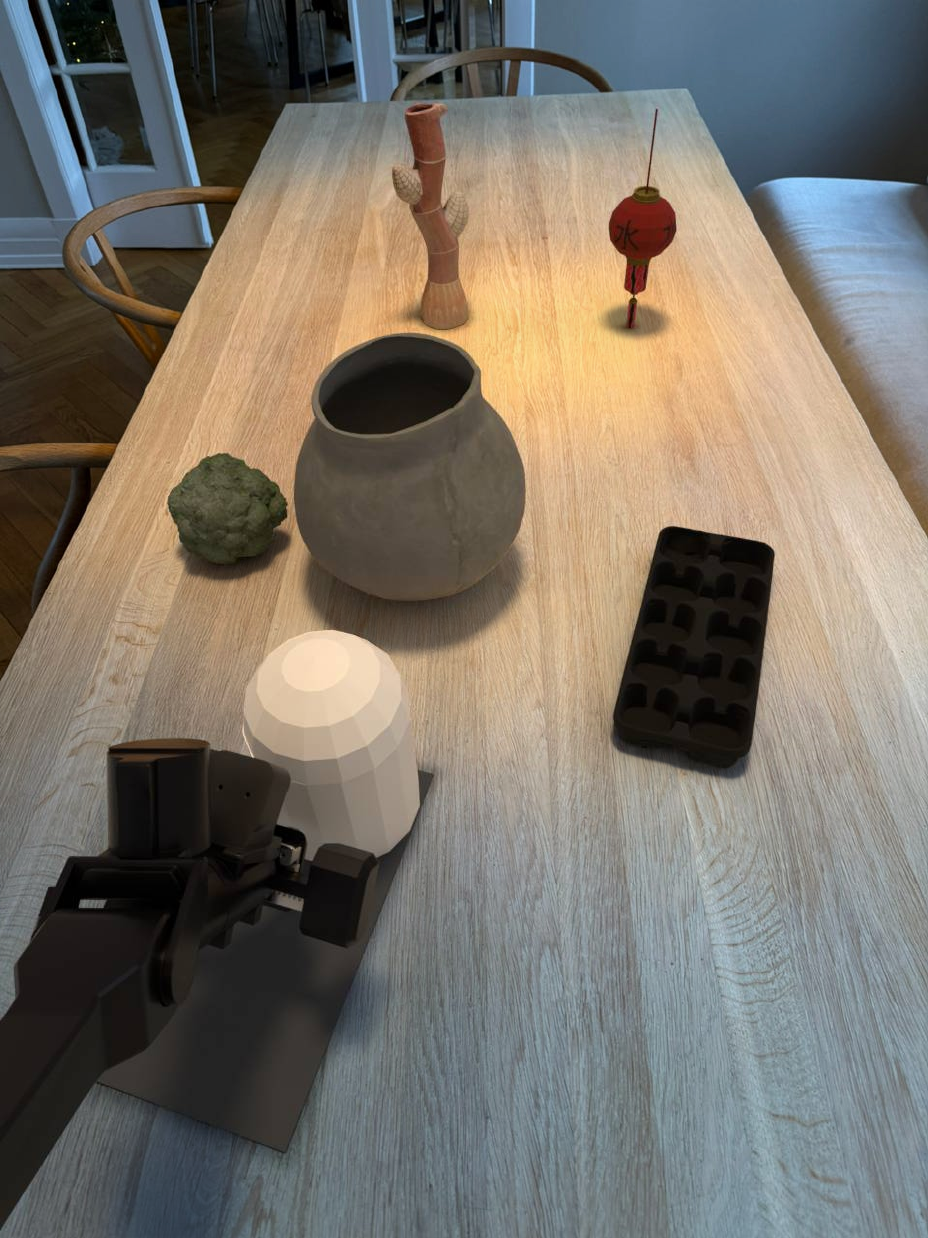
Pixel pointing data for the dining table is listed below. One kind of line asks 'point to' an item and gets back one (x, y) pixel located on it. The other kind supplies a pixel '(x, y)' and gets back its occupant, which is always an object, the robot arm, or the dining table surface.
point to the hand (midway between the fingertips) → (294, 834)
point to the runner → (255, 1022)
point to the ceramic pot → (407, 471)
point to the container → (336, 740)
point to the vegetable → (226, 509)
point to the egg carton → (698, 647)
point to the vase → (434, 216)
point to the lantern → (641, 234)
